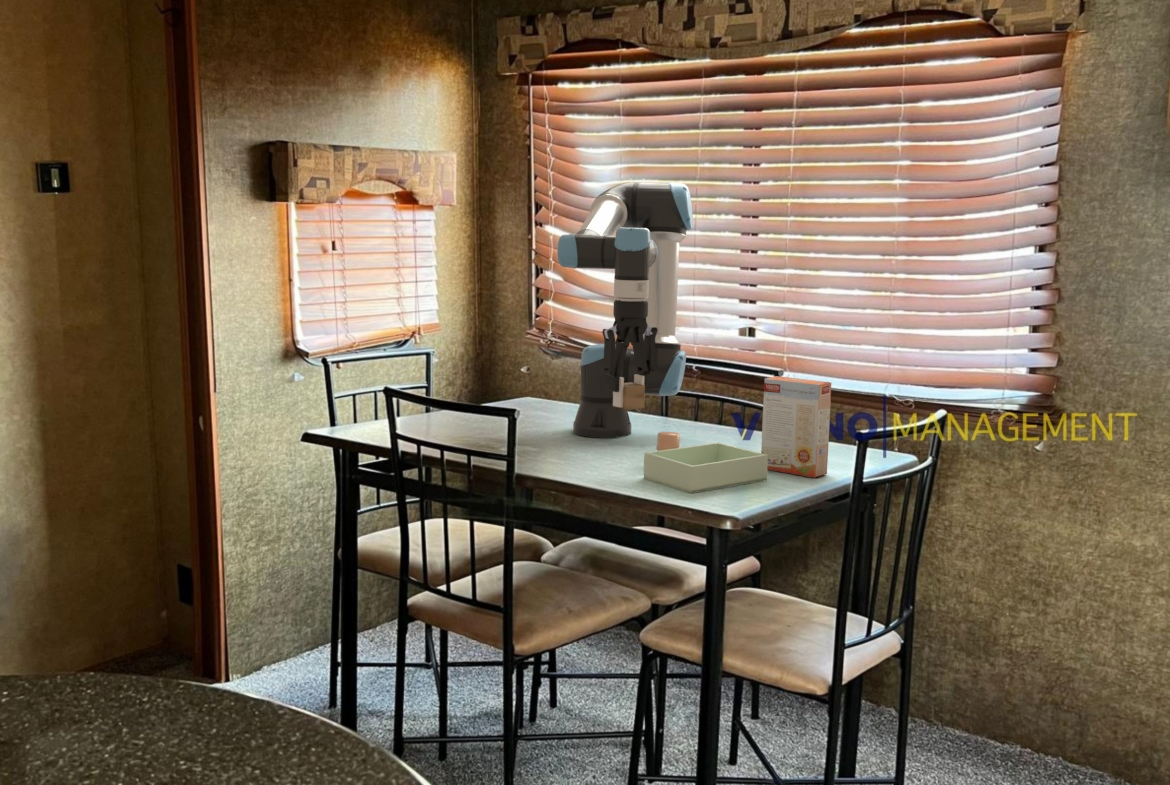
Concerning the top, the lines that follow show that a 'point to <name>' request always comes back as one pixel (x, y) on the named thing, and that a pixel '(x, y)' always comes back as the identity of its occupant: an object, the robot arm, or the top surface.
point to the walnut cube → (633, 396)
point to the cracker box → (796, 425)
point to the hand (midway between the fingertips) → (628, 405)
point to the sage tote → (705, 467)
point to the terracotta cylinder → (668, 440)
